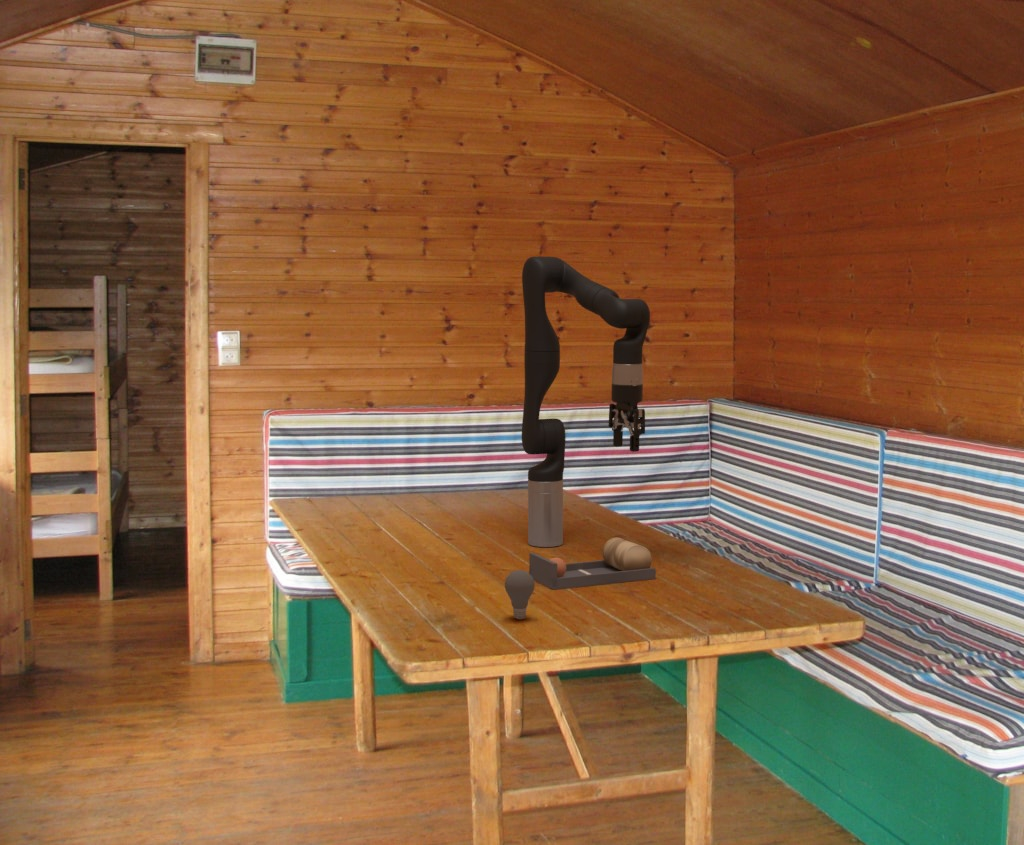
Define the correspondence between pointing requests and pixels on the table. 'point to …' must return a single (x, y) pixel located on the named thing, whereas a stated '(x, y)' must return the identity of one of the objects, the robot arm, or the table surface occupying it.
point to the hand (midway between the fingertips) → (626, 448)
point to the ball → (559, 566)
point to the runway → (582, 573)
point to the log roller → (626, 555)
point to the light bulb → (519, 591)
